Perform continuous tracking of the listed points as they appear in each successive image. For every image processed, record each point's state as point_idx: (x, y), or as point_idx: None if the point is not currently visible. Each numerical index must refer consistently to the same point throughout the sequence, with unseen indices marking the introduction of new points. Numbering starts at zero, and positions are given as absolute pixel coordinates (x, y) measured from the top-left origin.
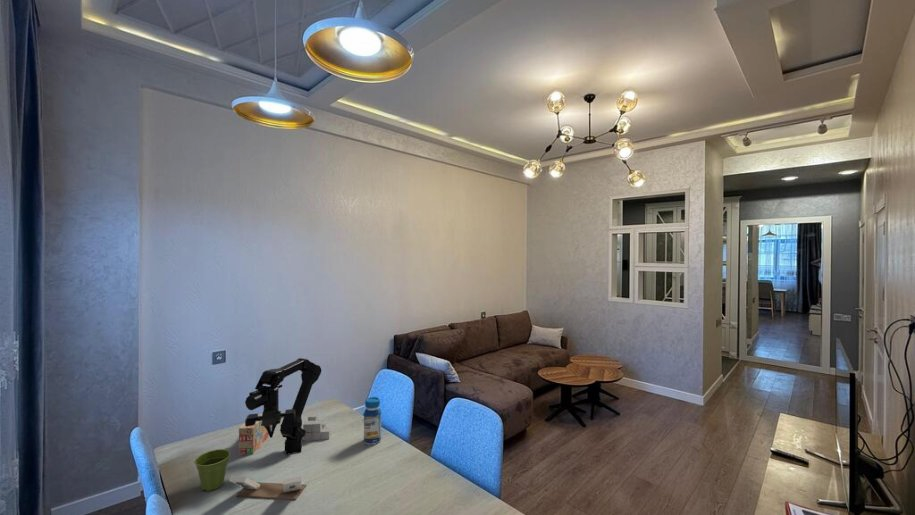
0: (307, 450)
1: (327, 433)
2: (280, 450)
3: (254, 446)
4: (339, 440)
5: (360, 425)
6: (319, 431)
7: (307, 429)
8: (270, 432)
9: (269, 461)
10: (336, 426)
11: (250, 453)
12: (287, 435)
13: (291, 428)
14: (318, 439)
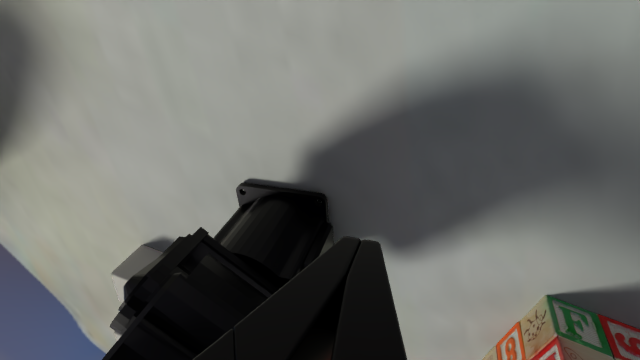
0: (210, 187)
1: (124, 268)
2: None
3: (542, 345)
4: (90, 212)
5: (63, 284)
6: None
7: None
8: (339, 314)
9: (429, 155)
10: None
11: (565, 306)
12: (251, 289)
13: (142, 320)
14: None
